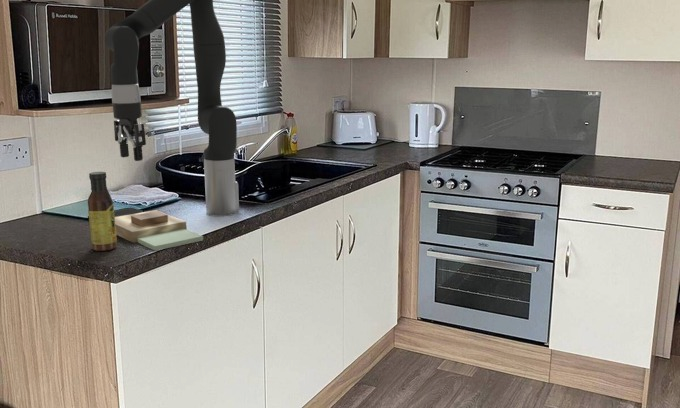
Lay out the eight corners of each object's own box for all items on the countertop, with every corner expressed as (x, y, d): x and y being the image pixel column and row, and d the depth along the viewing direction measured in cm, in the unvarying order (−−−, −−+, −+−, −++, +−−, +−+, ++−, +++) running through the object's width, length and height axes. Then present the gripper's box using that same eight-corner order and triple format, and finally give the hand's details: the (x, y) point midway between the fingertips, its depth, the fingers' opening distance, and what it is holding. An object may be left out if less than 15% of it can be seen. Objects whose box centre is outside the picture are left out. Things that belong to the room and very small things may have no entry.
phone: (143, 210, 213) (99, 220, 202) (143, 214, 213) (100, 223, 202) (129, 207, 218) (85, 215, 207) (129, 210, 218) (86, 219, 207)
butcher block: (156, 219, 205) (155, 210, 205) (186, 231, 192) (186, 221, 192) (104, 229, 195) (103, 219, 194) (133, 242, 182) (132, 231, 181)
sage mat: (184, 232, 191) (184, 228, 191) (203, 240, 184) (203, 236, 184) (137, 242, 182) (137, 238, 182) (155, 250, 175) (155, 246, 175)
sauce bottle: (119, 249, 176) (113, 173, 171) (94, 253, 173) (87, 176, 168) (114, 243, 181) (108, 169, 177) (89, 246, 178) (82, 171, 174)
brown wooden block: (157, 217, 195) (157, 211, 195) (168, 221, 191) (167, 214, 191) (131, 222, 190) (130, 215, 190) (141, 226, 186) (140, 219, 185)
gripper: (151, 101, 186) (155, 160, 190) (127, 98, 196) (132, 154, 200) (125, 103, 181) (130, 163, 185) (102, 100, 192) (108, 157, 195)
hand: (131, 158), depth 193 cm, fingers open, 8 cm apart
